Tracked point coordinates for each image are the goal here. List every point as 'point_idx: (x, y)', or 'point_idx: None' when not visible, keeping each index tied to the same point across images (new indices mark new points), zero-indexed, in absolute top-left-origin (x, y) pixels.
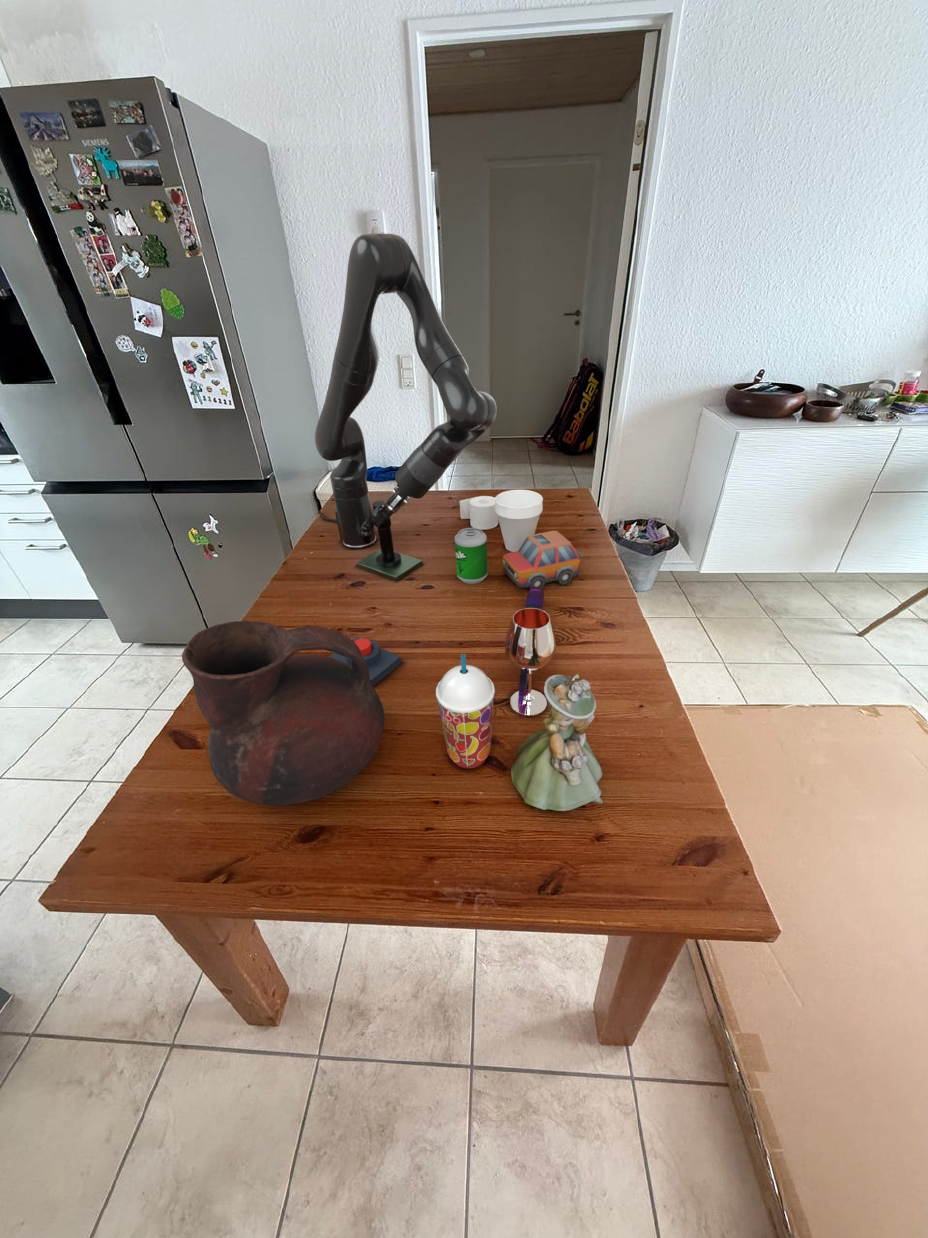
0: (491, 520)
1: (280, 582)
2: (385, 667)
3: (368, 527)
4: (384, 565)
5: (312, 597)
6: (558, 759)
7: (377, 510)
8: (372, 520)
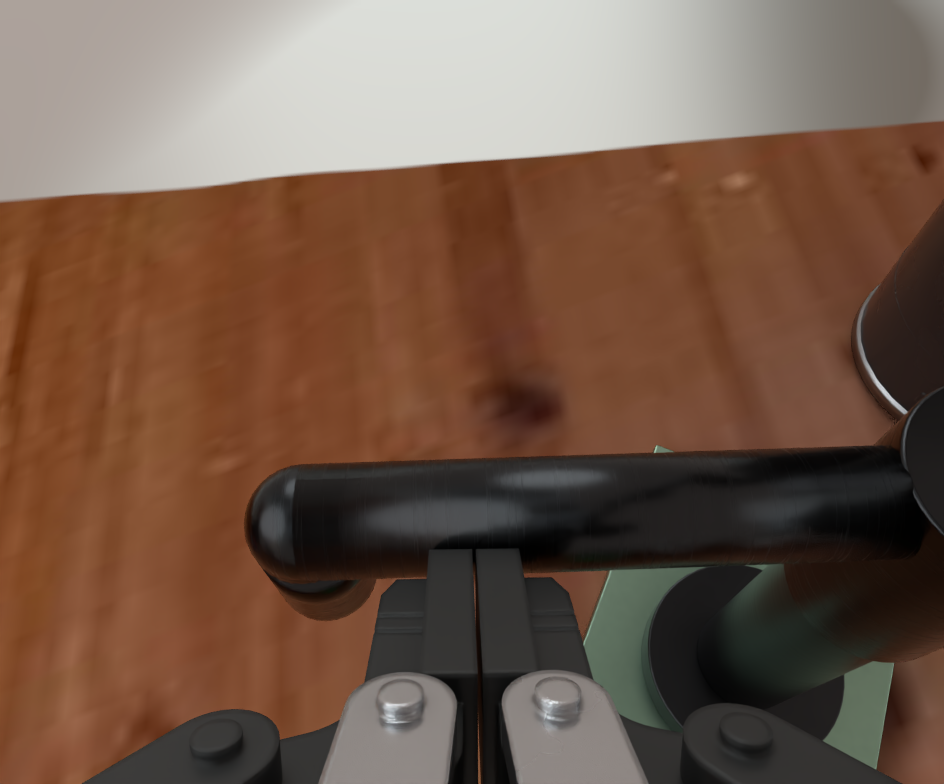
0: None
1: (424, 167)
2: None
3: (286, 565)
4: (643, 659)
5: (290, 350)
6: None
7: (790, 513)
8: (429, 564)
